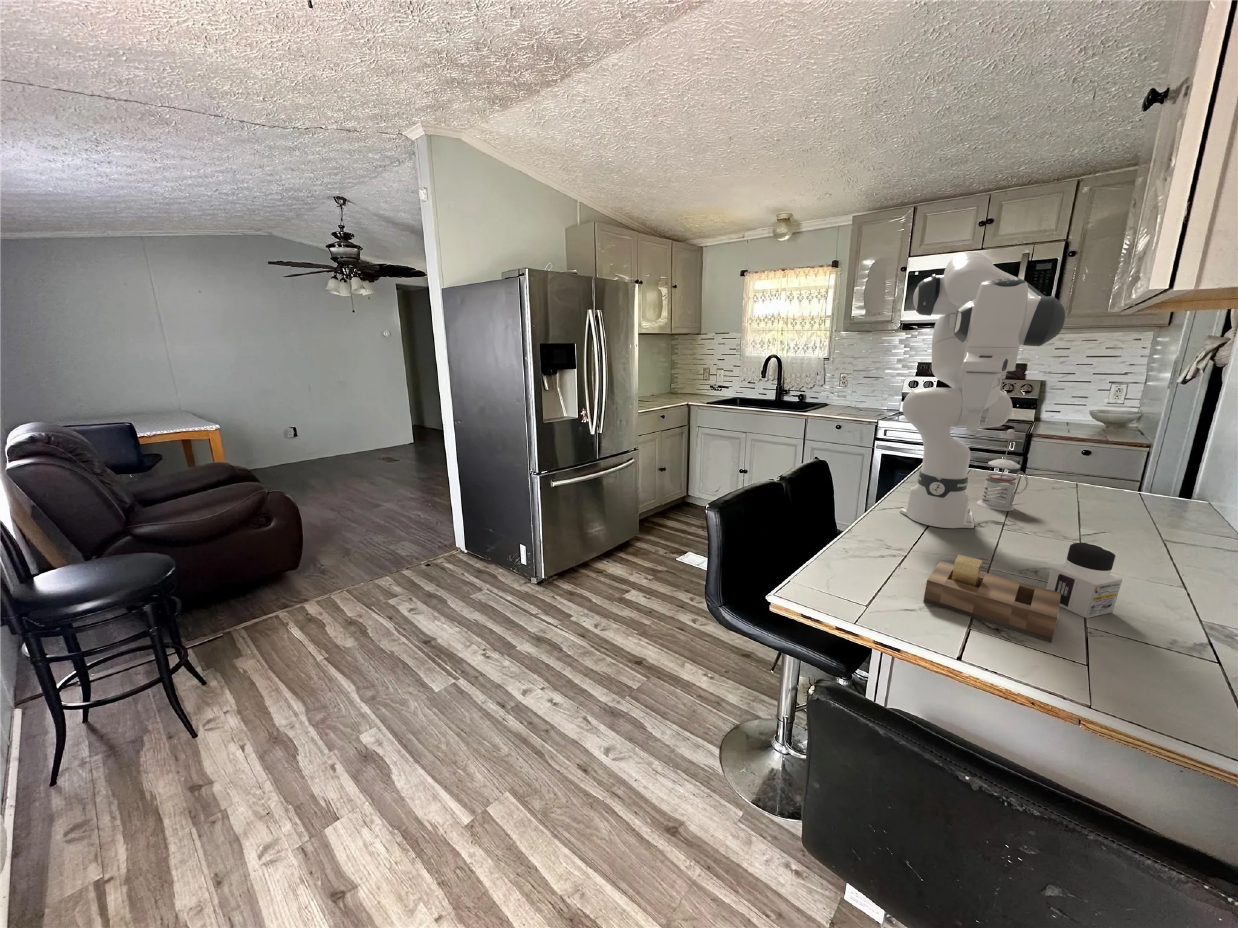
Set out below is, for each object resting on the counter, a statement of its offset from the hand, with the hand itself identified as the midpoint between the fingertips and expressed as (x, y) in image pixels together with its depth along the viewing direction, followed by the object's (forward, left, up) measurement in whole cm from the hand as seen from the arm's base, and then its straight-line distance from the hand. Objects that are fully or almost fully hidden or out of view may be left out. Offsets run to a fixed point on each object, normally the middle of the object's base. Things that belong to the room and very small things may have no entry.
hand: (976, 427), depth 104 cm
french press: (-64, +2, -34) cm, 73 cm away
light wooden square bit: (+13, +4, -33) cm, 36 cm away
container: (-1, +22, -34) cm, 41 cm away
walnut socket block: (+13, +9, -34) cm, 38 cm away
